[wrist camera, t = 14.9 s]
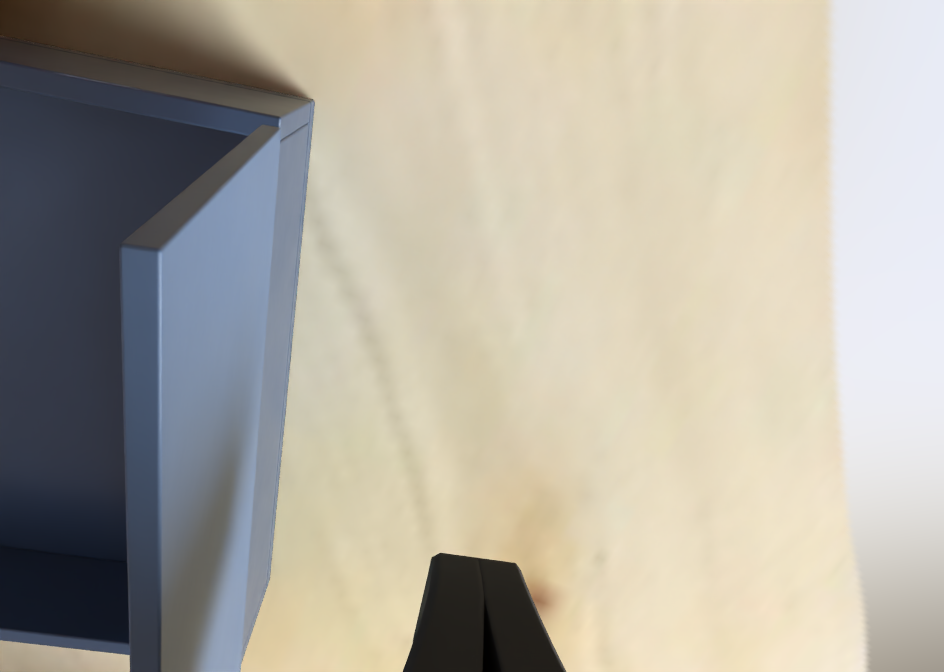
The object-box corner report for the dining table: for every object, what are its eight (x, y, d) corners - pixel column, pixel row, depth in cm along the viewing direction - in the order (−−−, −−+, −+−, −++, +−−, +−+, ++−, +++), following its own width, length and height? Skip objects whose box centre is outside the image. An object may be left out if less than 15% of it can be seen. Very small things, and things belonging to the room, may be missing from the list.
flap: (261, 123, 10) (281, 127, 10) (225, 691, 15) (238, 691, 15) (116, 243, 5) (162, 250, 5) (139, 1041, 10) (160, 1039, 10)
